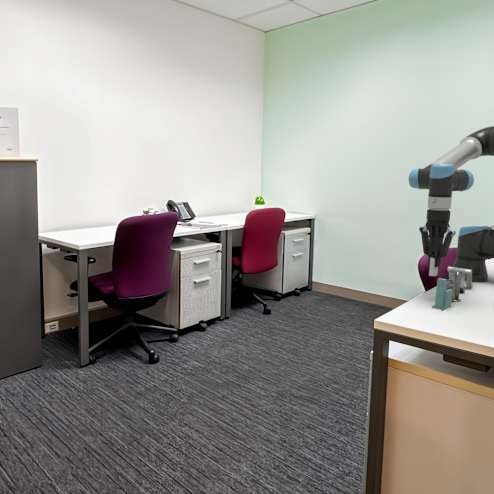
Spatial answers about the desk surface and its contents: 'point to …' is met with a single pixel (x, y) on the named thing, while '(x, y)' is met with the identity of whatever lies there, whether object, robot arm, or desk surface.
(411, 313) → the desk surface
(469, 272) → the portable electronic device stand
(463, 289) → the camera
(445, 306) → the stile
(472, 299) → the desk surface
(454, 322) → the desk surface
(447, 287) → the gate
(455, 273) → the hinge post
